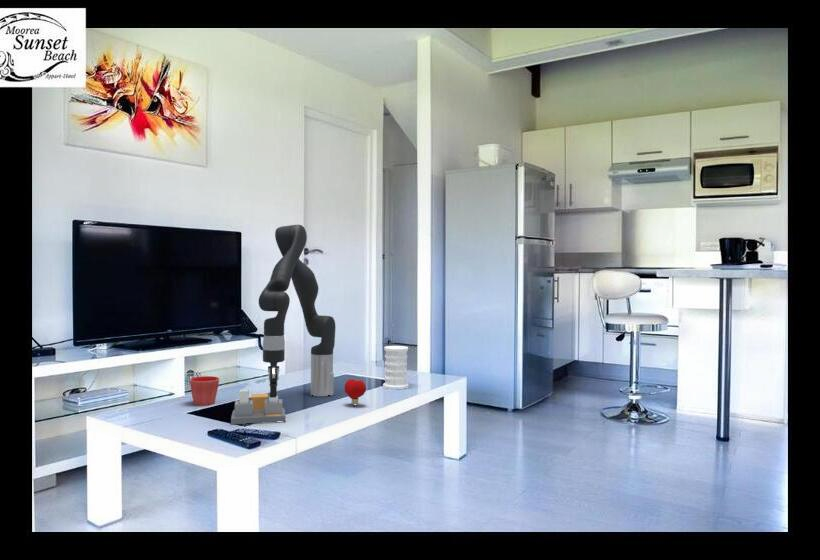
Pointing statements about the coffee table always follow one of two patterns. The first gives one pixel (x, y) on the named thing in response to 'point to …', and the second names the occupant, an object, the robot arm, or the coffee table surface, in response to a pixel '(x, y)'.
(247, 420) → the breaker panel
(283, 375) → the coffee table surface
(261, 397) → the orange wooden cube
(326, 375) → the robot arm
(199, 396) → the flower pot
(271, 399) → the block
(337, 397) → the coffee table surface
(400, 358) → the decorative container
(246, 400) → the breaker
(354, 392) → the light bulb
